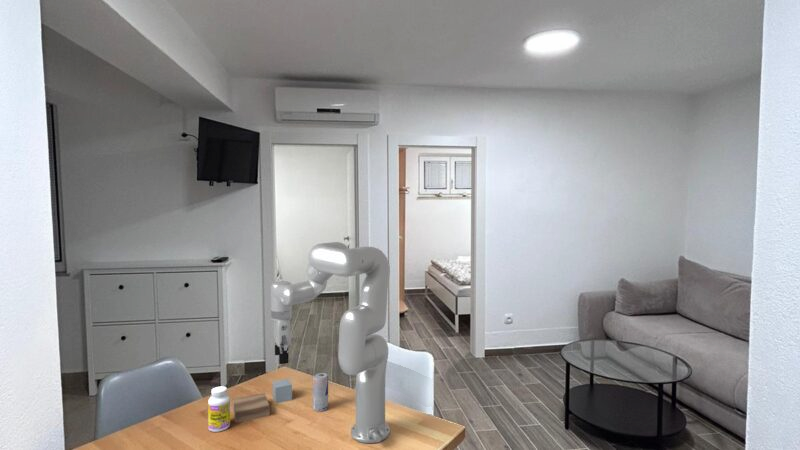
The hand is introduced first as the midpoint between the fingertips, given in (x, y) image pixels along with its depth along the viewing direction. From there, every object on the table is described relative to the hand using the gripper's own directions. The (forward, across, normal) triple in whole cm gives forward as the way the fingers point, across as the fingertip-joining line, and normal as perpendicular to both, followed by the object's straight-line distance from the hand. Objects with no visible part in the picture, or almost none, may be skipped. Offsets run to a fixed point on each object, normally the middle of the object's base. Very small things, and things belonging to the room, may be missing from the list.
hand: (281, 358), depth 157 cm
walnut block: (+16, -6, +12) cm, 21 cm away
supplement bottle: (+15, -13, +22) cm, 30 cm away
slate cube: (+15, 0, 0) cm, 15 cm away
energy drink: (+15, -14, -11) cm, 24 cm away
